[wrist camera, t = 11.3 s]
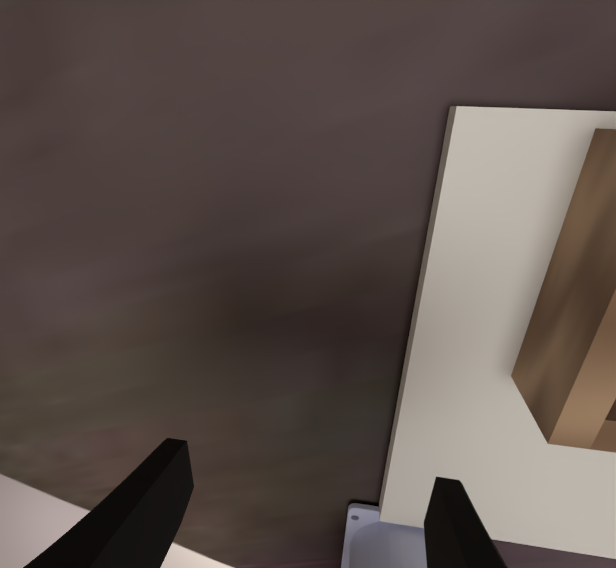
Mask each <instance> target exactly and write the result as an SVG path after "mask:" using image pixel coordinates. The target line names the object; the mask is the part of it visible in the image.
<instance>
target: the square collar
mask: <svg viewBox="0 0 616 568" xmlns="http://www.w3.org/2000/svg"><path fill="white" fill-rule="evenodd" d="M511 377H512V379H513V381H514V383H515V385H516V387H517V388H518V390H519V392H520V394H521V396H522V398H523V399H524V401H525V403H526V405H527V407H528V409H529V410H530V412H531V414H532V416H533V418H534V420H535V421H536V423H537V425H538V427H539V429H540V431H541V433H542V434H543V436H544V438H545V440H546V442H547V444H553V445H561V446H568V447H576V448H584V449H591V450H599V451H607V452H614V453H616V129H600V128H595V131H594V134H593V137H592V140H591V143H590V146H589V149H588V152H587V155H586V158H585V161H584V164H583V166H582V169H581V172H580V175H579V178H578V181H577V184H576V187H575V190H574V193H573V196H572V199H571V202H570V205H569V207H568V210H567V213H566V216H565V219H564V222H563V225H562V228H561V231H560V234H559V237H558V240H557V243H556V246H555V248H554V251H553V254H552V257H551V260H550V263H549V266H548V269H547V272H546V275H545V278H544V281H543V284H542V287H541V290H540V292H539V295H538V298H537V301H536V304H535V307H534V310H533V313H532V316H531V319H530V322H529V325H528V328H527V331H526V333H525V336H524V339H523V342H522V345H521V348H520V351H519V354H518V357H517V360H516V363H515V366H514V369H513V372H512V374H511Z"/></svg>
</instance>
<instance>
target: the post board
mask: <svg viewBox="0 0 616 568" xmlns="http://www.w3.org/2000/svg"><path fill="white" fill-rule="evenodd" d="M595 128H600V129H616V112H615V111H586V110H556V109H526V108H496V107H466V106H450V109H449V114H448V120H447V126H446V131H445V137H444V142H443V148H442V154H441V159H440V165H439V170H438V176H437V181H436V187H435V193H434V198H433V204H432V209H431V215H430V221H429V226H428V232H427V237H426V243H425V249H424V254H423V260H422V265H421V271H420V277H419V282H418V288H417V293H416V299H415V304H414V310H413V316H412V321H411V327H410V332H409V338H408V344H407V349H406V355H405V360H404V366H403V372H402V377H401V383H400V388H399V394H398V400H397V405H396V411H395V416H394V422H393V427H392V433H391V439H390V444H389V450H388V455H387V461H386V467H385V472H384V478H383V483H382V489H381V495H380V500H379V520H380V521H381V522H388V523H394V524H400V525H407V526H413V527H419V528H424V519H425V516H426V512H427V508H428V505H429V501H430V497H431V493H432V490H433V486H434V482H435V479H436V477H442V478H449V479H456V480H460V482H461V483H462V484H463V486H464V488H465V490H466V492H467V494H468V496H469V498H470V500H471V502H472V504H473V506H474V508H475V510H476V512H477V514H478V516H479V518H480V519H481V521H482V523H483V525H484V527H485V529H486V530H487V532H488V534H489V536H490V538H491V539H494V540H500V541H507V542H513V543H519V544H526V545H532V546H538V547H544V548H551V549H557V550H563V551H569V552H576V553H582V554H588V555H594V556H601V557H607V558H613V559H616V453H614V452H607V451H599V450H591V449H584V448H576V447H568V446H561V445H553V444H547V442H546V440H545V438H544V436H543V434H542V433H541V431H540V429H539V427H538V425H537V423H536V421H535V420H534V418H533V416H532V414H531V412H530V410H529V409H528V407H527V405H526V403H525V401H524V399H523V398H522V396H521V394H520V392H519V390H518V388H517V387H516V385H515V383H514V381H513V379H512V377H511V374H512V372H513V369H514V366H515V363H516V360H517V357H518V354H519V351H520V348H521V345H522V342H523V339H524V336H525V333H526V331H527V328H528V325H529V322H530V319H531V316H532V313H533V310H534V307H535V304H536V301H537V298H538V295H539V292H540V290H541V287H542V284H543V281H544V278H545V275H546V272H547V269H548V266H549V263H550V260H551V257H552V254H553V251H554V248H555V246H556V243H557V240H558V237H559V234H560V231H561V228H562V225H563V222H564V219H565V216H566V213H567V210H568V207H569V205H570V202H571V199H572V196H573V193H574V190H575V187H576V184H577V181H578V178H579V175H580V172H581V169H582V166H583V164H584V161H585V158H586V155H587V152H588V149H589V146H590V143H591V140H592V137H593V134H594V131H595Z"/></svg>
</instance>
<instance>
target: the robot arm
mask: <svg viewBox="0 0 616 568" xmlns="http://www.w3.org/2000/svg"><path fill="white" fill-rule="evenodd" d="M193 488H194V484H193V477H192V471H191V464H190V458H189V451H188V445H187V441H185V440H178V439H171V438H167V439H166V440H164V441H163V442H162V443H161V444H160V445H159V446H158V447H157V448H156V449H155V450H154V451H153V452H152V453H151V454H150V455H149V456H148V457H147V458H146V459H145V460H144V461H143V462H142V463H141V464H140V465H139V466H138V467H137V468H136V469H135V470H134V471H133V472H132V473H131V474H130V475H129V476H128V477H127V478H126V479H125V480H124V481H123V482H122V483H121V484H120V485H118V486H117V487H116V488H115V489H114V490H113V491H112V492H111V493H110V494H109V495H108V496H107V497H106V498H105V499H104V500H103V501H101V502H100V503H99V504H98V505H97V506H96V507H95V508H94V509H93V510H92V511H90V512H89V513H88V514H87V515H86V516H85V517H84V518H83V519H81V520H80V521H79V522H78V523H77V524H76V525H75V526H73V527H72V528H71V529H70V530H69V531H68V532H66V533H65V534H64V535H63V536H62V537H61V538H59V539H58V540H57V541H56V542H55V543H53V544H52V545H51V546H50V547H49V548H47V549H46V550H45V551H44V552H42V553H41V554H40V555H39V556H37V557H36V558H35V559H34V560H32V561H31V562H30V563H29V564H27V565H26V566H25V567H23V568H160V567H161V565H162V563H163V561H164V558H165V556H166V554H167V552H168V550H169V548H170V546H171V544H172V542H173V540H174V537H175V535H176V533H177V531H178V529H179V527H180V524H181V522H182V519H183V516H184V514H185V511H186V508H187V505H188V502H189V500H190V497H191V494H192V491H193ZM341 568H508V567H507V566H506V564H505V562H504V561H503V559H502V557H501V555H500V554H499V552H498V550H497V548H496V547H495V545H494V543H493V541H492V540H491V538H490V536H489V534H488V532H487V530H486V529H485V527H484V525H483V523H482V521H481V519H480V518H479V516H478V514H477V512H476V510H475V508H474V506H473V504H472V502H471V500H470V498H469V496H468V494H467V492H466V490H465V488H464V486H463V484H462V483H461V482H460V480H456V479H449V478H442V477H436V479H435V482H434V486H433V490H432V493H431V497H430V501H429V505H428V508H427V512H426V516H425V519H424V528H419V527H413V526H407V525H400V524H394V523H388V522H381V521H380V520H379V507H378V506H372V505H365V504H359V503H352V504H350V505H349V507H348V514H347V522H346V530H345V538H344V546H343V554H342V562H341Z"/></svg>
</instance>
